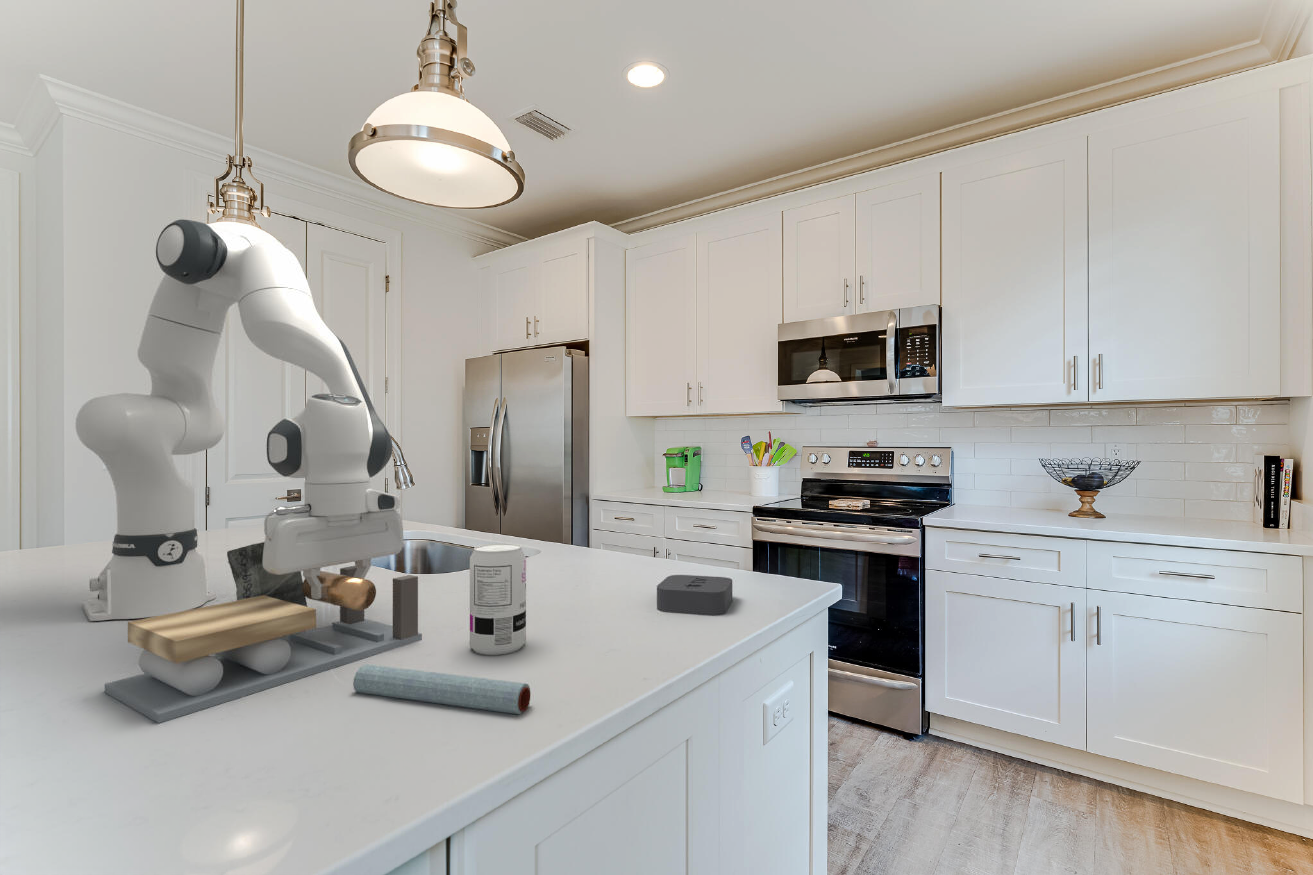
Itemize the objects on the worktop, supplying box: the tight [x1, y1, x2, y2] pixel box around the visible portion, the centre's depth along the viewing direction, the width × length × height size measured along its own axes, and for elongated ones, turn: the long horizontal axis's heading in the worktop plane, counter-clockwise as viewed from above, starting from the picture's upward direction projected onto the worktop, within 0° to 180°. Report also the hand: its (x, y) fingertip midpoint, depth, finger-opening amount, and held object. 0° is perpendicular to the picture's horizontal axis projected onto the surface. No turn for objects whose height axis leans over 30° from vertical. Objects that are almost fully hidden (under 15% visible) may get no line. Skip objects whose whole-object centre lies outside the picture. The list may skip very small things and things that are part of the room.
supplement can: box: [469, 542, 527, 656], centre depth 95 cm, size 8×8×15 cm
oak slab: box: [127, 595, 317, 663], centre depth 82 cm, size 14×16×2 cm
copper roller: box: [302, 570, 377, 611], centre depth 95 cm, size 12×4×4 cm, turn 58°
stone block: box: [226, 541, 308, 607], centre depth 102 cm, size 9×14×5 cm
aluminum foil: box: [352, 664, 531, 715], centre depth 74 cm, size 23×7×3 cm, turn 74°
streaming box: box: [656, 574, 733, 617], centre depth 118 cm, size 13×13×5 cm
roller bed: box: [104, 565, 423, 724], centre depth 88 cm, size 16×34×10 cm, turn 147°
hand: (338, 593), depth 95 cm, fingers closed on copper roller, 4 cm apart
